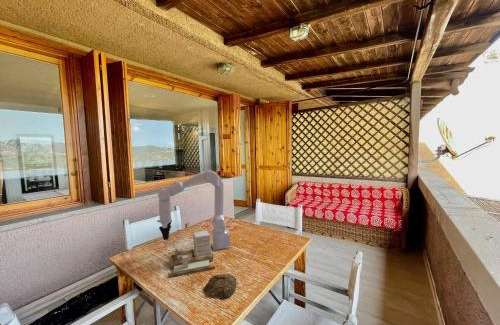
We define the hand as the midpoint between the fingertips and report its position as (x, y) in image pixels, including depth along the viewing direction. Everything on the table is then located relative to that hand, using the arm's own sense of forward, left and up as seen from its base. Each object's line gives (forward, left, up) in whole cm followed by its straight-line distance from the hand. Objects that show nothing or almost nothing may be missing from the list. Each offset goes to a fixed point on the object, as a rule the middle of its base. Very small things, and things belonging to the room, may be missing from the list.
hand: (166, 236), depth 115 cm
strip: (-12, +18, -10) cm, 24 cm away
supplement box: (-17, +9, -10) cm, 22 cm away
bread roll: (-22, +37, -11) cm, 44 cm away
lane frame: (-12, +12, -10) cm, 20 cm away
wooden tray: (-13, +9, -10) cm, 18 cm away
